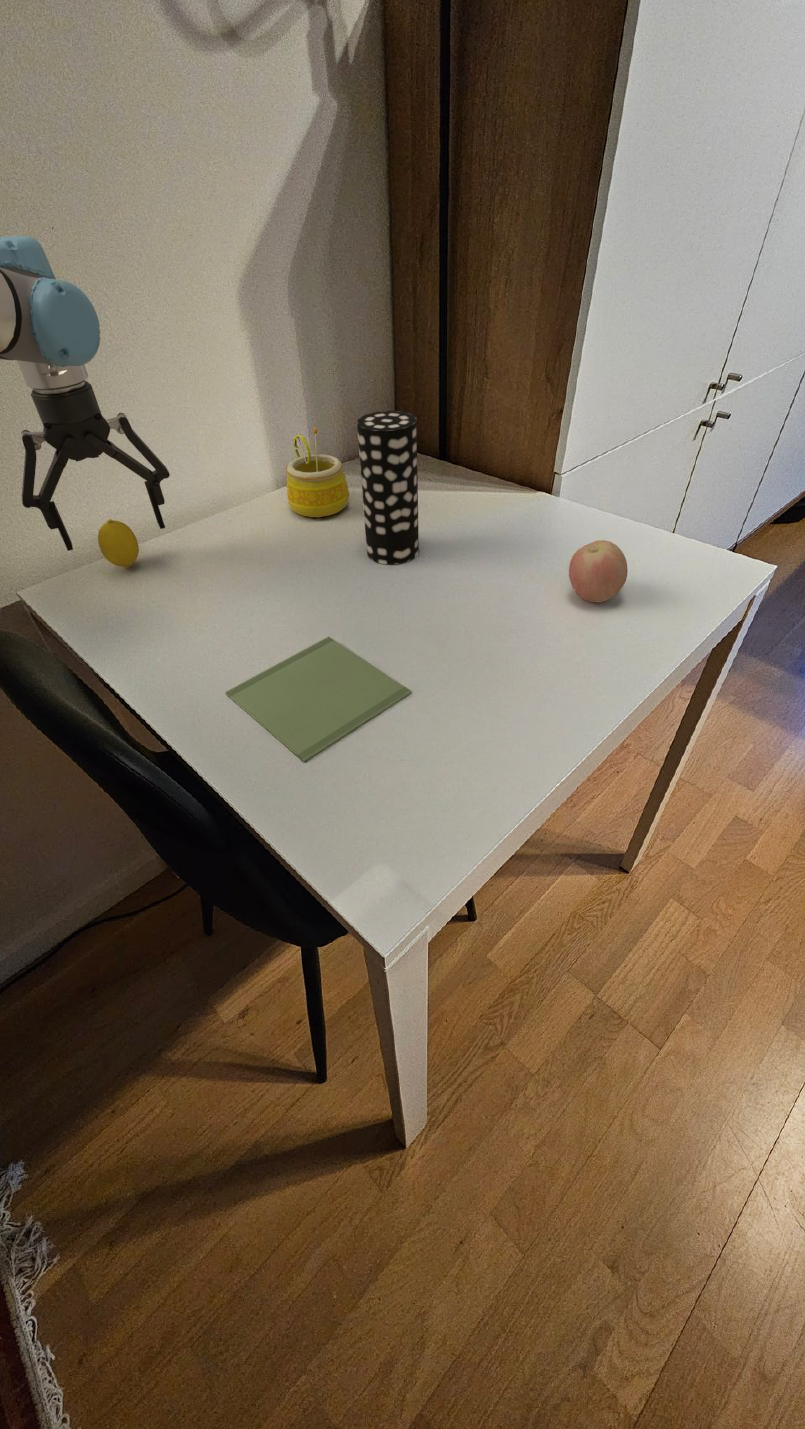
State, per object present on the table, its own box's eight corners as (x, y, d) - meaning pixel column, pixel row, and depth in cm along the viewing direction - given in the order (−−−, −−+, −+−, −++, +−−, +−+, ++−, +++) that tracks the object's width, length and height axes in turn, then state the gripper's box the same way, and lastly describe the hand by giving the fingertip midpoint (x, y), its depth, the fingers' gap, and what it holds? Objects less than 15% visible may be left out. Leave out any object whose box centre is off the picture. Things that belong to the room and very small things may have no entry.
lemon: (152, 561, 101) (136, 514, 96) (130, 578, 97) (112, 530, 92) (123, 556, 103) (106, 510, 97) (101, 573, 99) (82, 526, 93)
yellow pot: (348, 520, 109) (341, 450, 101) (285, 522, 110) (273, 452, 102) (353, 490, 119) (347, 423, 111) (295, 491, 119) (285, 425, 111)
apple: (585, 576, 93) (594, 526, 88) (631, 595, 89) (644, 543, 84) (553, 598, 89) (561, 546, 84) (600, 619, 85) (611, 566, 80)
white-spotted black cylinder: (358, 559, 99) (346, 427, 86) (379, 536, 105) (371, 408, 91) (407, 568, 97) (403, 433, 83) (426, 543, 102) (425, 413, 89)
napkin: (304, 762, 68) (303, 760, 67) (225, 694, 76) (224, 692, 76) (411, 693, 75) (411, 690, 75) (328, 638, 84) (328, 636, 84)
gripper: (-48, 410, 76) (30, 567, 90) (161, 376, 83) (202, 526, 98) (-46, 394, 81) (27, 545, 95) (151, 363, 88) (192, 507, 103)
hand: (116, 535), depth 96 cm, fingers open, 13 cm apart
